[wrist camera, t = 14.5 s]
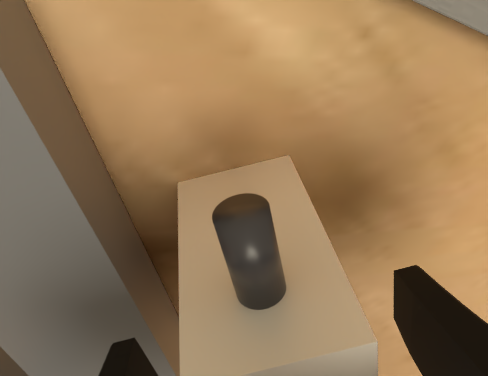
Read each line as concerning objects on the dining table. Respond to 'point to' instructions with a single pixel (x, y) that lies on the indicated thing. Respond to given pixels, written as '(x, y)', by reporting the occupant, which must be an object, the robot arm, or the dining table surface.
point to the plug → (264, 281)
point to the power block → (65, 231)
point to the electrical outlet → (462, 11)
